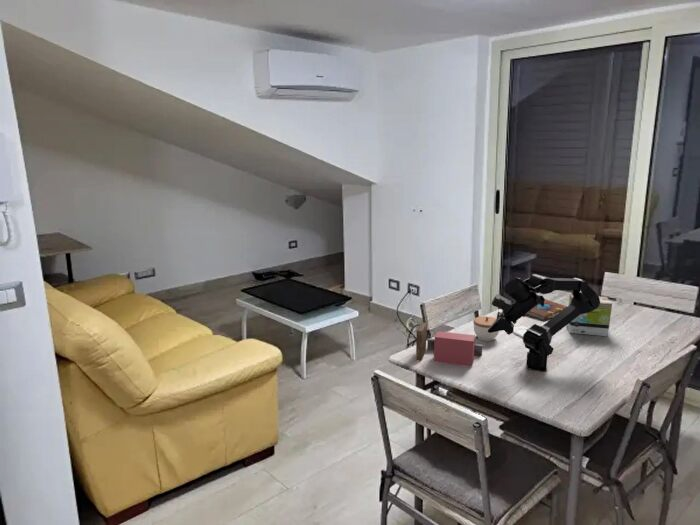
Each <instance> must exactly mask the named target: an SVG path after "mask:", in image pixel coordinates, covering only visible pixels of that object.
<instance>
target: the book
mask: <svg viewBox="0 0 700 525" xmlns="http://www.w3.org/2000/svg"><path fill="white" fill-rule="evenodd" d="M544 299H545V301H544V306H541V305H540V304H538V305H537V306H536V307H534V308H533V309H532V310H530V311H529V312H528V313H526V316H529V317H531V318H534V319H537V320H540V321H546V320H550V319H552V318H553V317H554V316H556V315H557V314H558V313H560V312H561V311H562V310H564V309H565V308H566V307H567V306H568V305H564V304H561V303H558V302H554V301H551V300H550V299H547V298H545V297H544Z"/></svg>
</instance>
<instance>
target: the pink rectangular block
mask: <svg viewBox="0 0 700 525" xmlns="http://www.w3.org/2000/svg"><path fill="white" fill-rule="evenodd" d="M434 339H435V342H434V350H433V362H434V363H442V364H448V365H449V364H451V365H458V366H465V367H473V364H474V361H475V355H474V348H475V344H476V343H475V342H476V334H467V333H457V332H447V331H439V330H437V331H436V333H435V335H434Z"/></svg>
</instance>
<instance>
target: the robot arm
mask: <svg viewBox="0 0 700 525" xmlns="http://www.w3.org/2000/svg"><path fill="white" fill-rule="evenodd" d="M554 291H571V294H572V295H573V298H572V301H571V304H570V305H569V304H568V305H566V306H567V307H566V308H565V309H564V310H562V311H561V312H560V313H558V314H557V315H556V316H554V317H553V318H550V319H548V321H547V322H545V323H544V324H543V325H539V324H537V323H534V324H532V325H531V326H530V327H529V328H528V329H526V330H527V331H526V332H525V333H524V335H523V338H522V342H523V344H524V347H525V349H527V350H528V351H527V353H526V363H525V364H526V366H527V369H528V370H534V371H543V372H547V370H548V366H547V364H548V357H549V356H550V355H552V354H553V352H554V347H553V346H552V345H551V342H552V339H553V337H554V335H556V334H557V333H559V332H560V331H561V330H562V329H564V327H567V324H569V323H570V322H571V321H573V320H574V319H575V318H576V317H578V316H579V315H581V314H585V313H590V312H592V311H593V310H595V309H597V308H598V307H599V305H600V299H599V295H597V293H596V291H595V290H593V288H592V287H590V285H589V284H588V282H587V281H586V280H584V279H582V278H578V277H572V278H567V277H566V278H564V277H559V278H558V277H552V278H551V277H548V276H544V275H540V274H537V273H533V274H531V276H530V277H528V278H526V279H524V280H523V279H522V278H520V277H515V278H514V279H511V280H509V281H508V282H507V283H506V284H505V285H504V293H505V294H506V295H507V296H509V297H510V298H511V299H512V300H509V299H507V298H506V297H504V296H502V295H500V294H498V293H496V294H495V296H494V298H493V299H492V301H491V306H493V307H496V308H498V309H500V310H502V311H501V312H500V311H497V315H496V320H495V322H494V323H493V324H492V325H491V327H490V328H489V329H488V332H489V333H492V332H497V331H499V332H502V331H504V332H505V333H506V334H507V335H508V336H510V335H511V334H513V333H512V332H513V330H514V327H515V324H517V322H518V320H520V319H521V318H522V317H523V318H525V317H526V316H527V315H526V313H528V312H529V311H530V310H532V309H533V308H534V307H536V306H537V305H538V304H540V305H541V306H544V301H545V299H546V298H545V297H544V295H547V294H552V293H553V292H554ZM538 294H541V295H538ZM544 298H545V299H544Z"/></svg>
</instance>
